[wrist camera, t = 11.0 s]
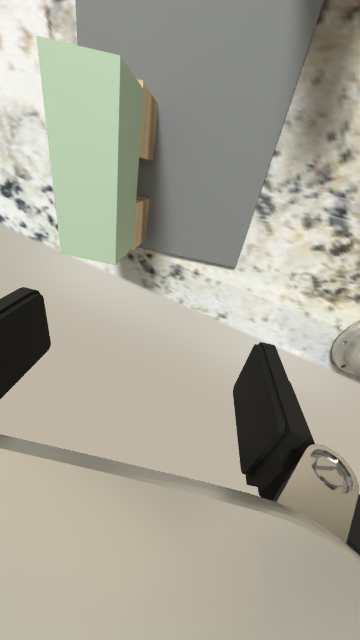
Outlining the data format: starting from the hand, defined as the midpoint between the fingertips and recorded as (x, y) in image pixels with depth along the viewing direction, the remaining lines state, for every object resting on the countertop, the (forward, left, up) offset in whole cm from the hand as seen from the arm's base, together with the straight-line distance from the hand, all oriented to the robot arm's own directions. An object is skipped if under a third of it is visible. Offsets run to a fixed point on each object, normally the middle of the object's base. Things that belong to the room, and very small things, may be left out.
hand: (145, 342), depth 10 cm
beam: (+8, -5, -18) cm, 20 cm away
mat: (+3, -10, -25) cm, 27 cm away
